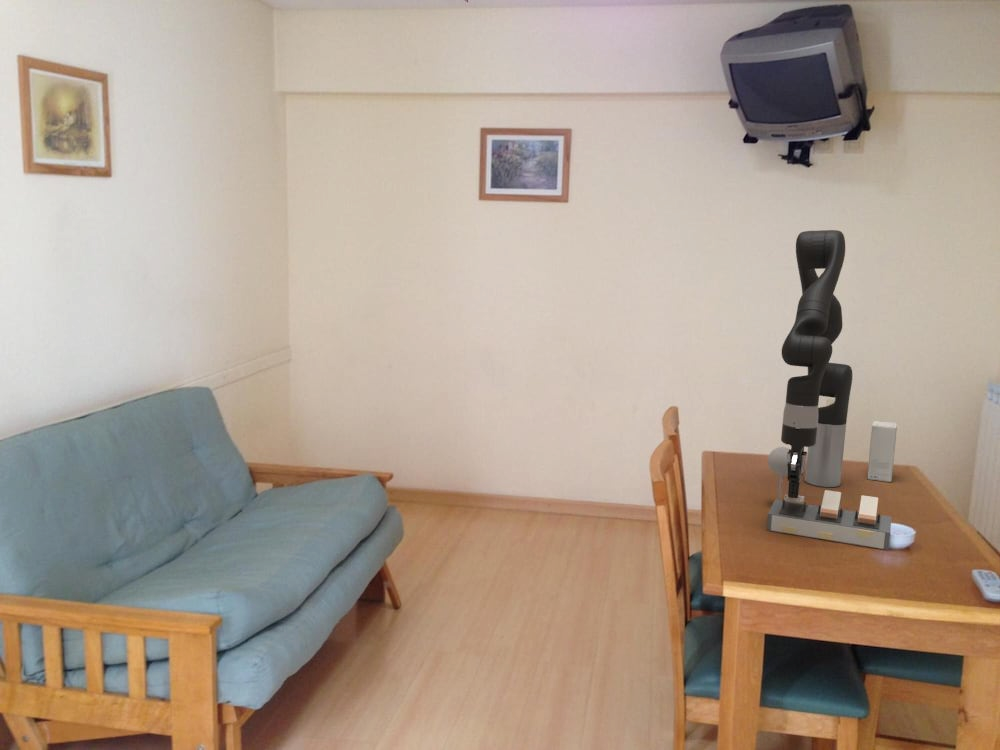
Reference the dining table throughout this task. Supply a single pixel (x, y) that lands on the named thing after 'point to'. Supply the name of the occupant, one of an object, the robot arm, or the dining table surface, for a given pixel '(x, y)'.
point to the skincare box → (882, 451)
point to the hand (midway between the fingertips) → (793, 497)
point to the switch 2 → (830, 504)
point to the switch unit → (828, 525)
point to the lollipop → (779, 464)
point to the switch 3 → (868, 509)
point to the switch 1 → (798, 499)
